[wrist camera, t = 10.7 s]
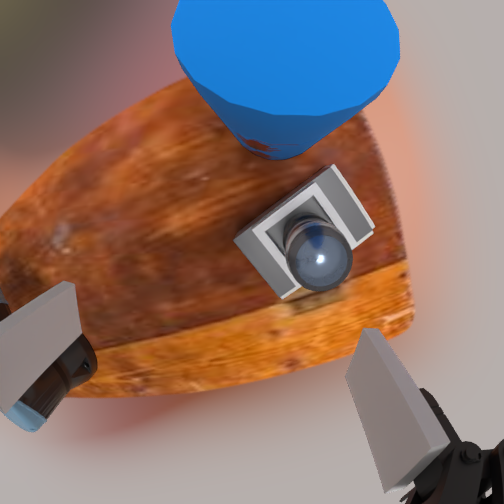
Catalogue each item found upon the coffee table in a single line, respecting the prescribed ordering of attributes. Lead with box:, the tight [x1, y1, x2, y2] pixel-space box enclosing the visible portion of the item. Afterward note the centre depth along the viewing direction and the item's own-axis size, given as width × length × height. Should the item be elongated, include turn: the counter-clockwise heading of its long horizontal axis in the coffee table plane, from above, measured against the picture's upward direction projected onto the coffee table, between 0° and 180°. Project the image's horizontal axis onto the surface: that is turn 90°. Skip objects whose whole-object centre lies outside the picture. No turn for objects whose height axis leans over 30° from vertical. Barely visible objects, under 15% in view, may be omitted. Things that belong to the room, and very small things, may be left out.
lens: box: [283, 212, 353, 291], centre depth 26 cm, size 6×6×10 cm
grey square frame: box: [233, 164, 375, 299], centre depth 32 cm, size 15×10×7 cm, turn 128°
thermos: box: [171, 0, 400, 160], centre depth 20 cm, size 11×11×25 cm
